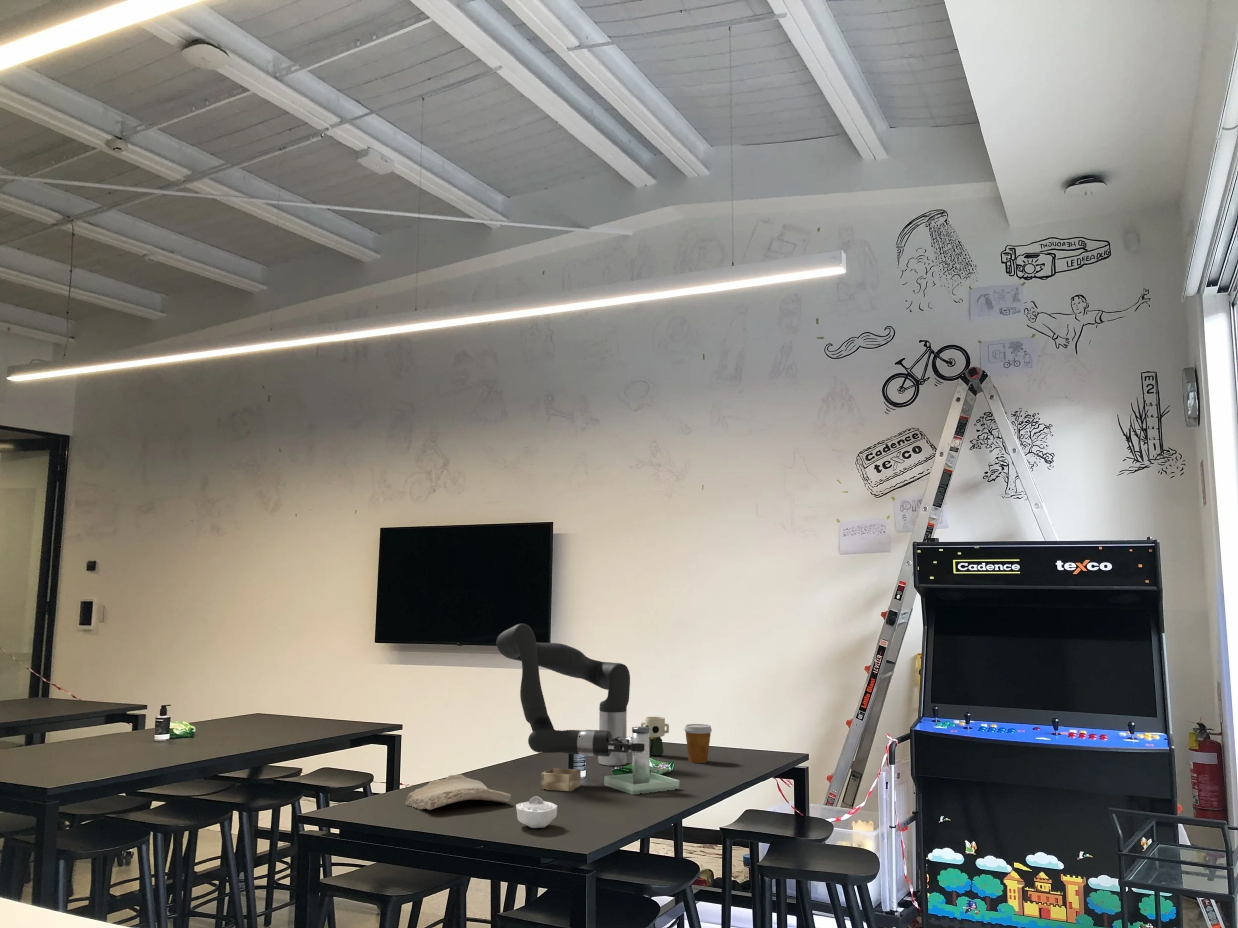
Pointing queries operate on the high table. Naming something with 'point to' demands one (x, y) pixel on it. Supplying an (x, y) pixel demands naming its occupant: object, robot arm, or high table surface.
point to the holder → (560, 779)
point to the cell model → (536, 812)
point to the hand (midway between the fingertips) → (647, 745)
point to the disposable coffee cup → (698, 742)
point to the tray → (655, 784)
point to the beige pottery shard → (453, 793)
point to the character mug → (656, 733)
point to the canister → (641, 756)
